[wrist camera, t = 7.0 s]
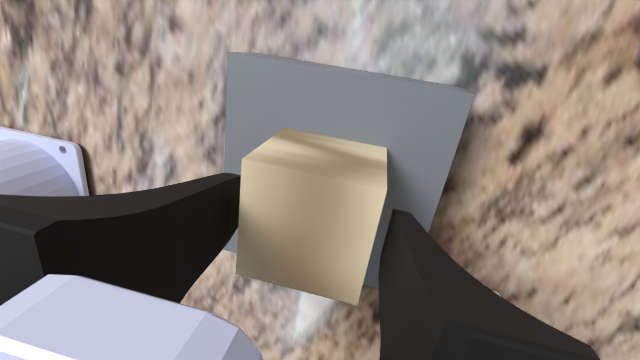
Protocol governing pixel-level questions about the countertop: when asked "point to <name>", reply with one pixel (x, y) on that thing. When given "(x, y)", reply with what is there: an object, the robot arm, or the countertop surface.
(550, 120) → the countertop surface
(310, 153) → the maple cube
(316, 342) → the countertop surface
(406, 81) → the base block
